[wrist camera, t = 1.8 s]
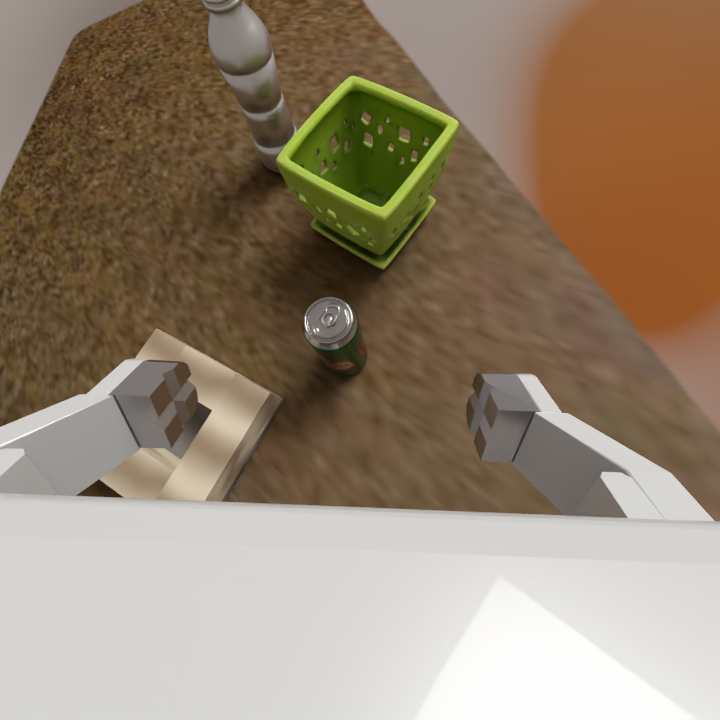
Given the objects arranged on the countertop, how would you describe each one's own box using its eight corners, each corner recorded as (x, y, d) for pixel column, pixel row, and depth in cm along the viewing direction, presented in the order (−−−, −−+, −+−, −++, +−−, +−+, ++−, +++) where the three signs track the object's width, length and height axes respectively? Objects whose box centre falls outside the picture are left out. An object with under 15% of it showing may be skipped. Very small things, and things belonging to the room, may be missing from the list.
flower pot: (386, 288, 42) (383, 222, 29) (302, 238, 45) (268, 159, 33) (445, 208, 44) (466, 116, 32) (361, 166, 47) (350, 67, 35)
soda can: (319, 368, 40) (289, 335, 28) (336, 331, 41) (313, 285, 29) (358, 383, 39) (343, 355, 27) (373, 345, 40) (366, 303, 28)
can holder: (209, 527, 36) (181, 539, 31) (106, 454, 39) (66, 455, 35) (285, 399, 39) (270, 392, 34) (183, 341, 42) (156, 328, 38)
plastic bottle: (292, 186, 47) (223, 6, 28) (254, 170, 49) (164, -12, 30) (315, 153, 48) (264, -42, 29) (278, 138, 50) (206, -56, 31)
